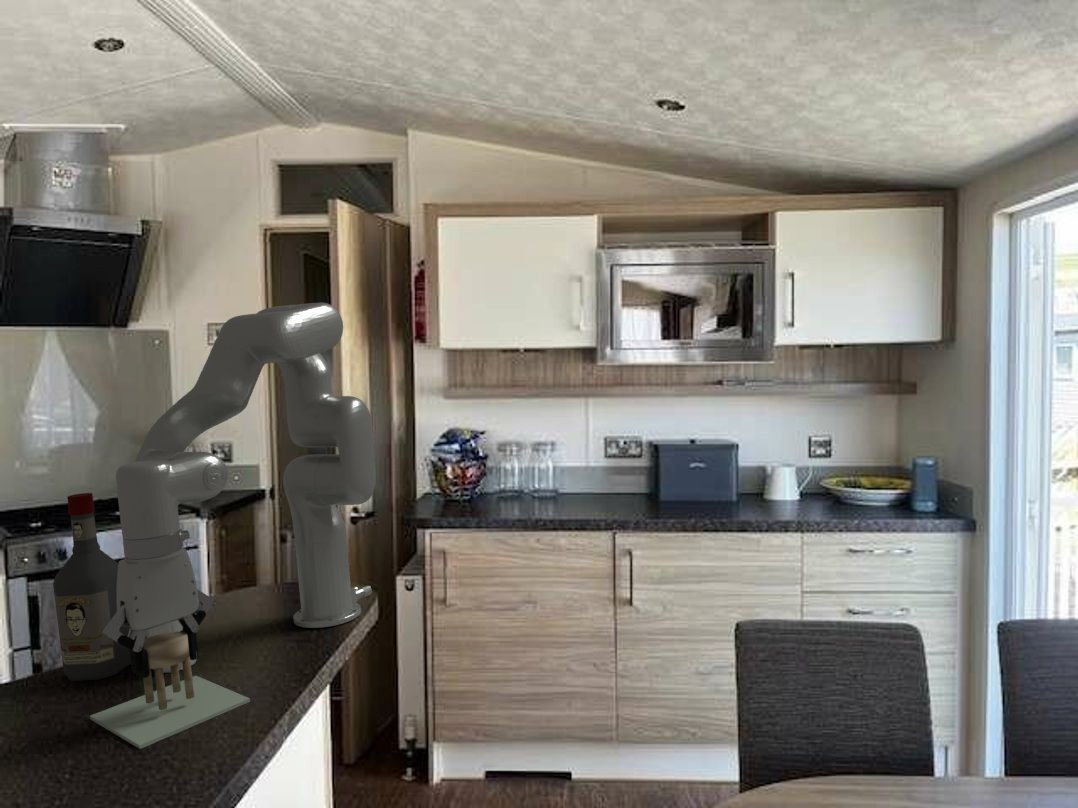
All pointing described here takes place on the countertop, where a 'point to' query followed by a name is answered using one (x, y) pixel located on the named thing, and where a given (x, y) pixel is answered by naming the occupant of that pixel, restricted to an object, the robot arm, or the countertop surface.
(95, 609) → the liquor
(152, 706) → the sage mat
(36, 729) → the countertop surface
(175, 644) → the round tan stool
